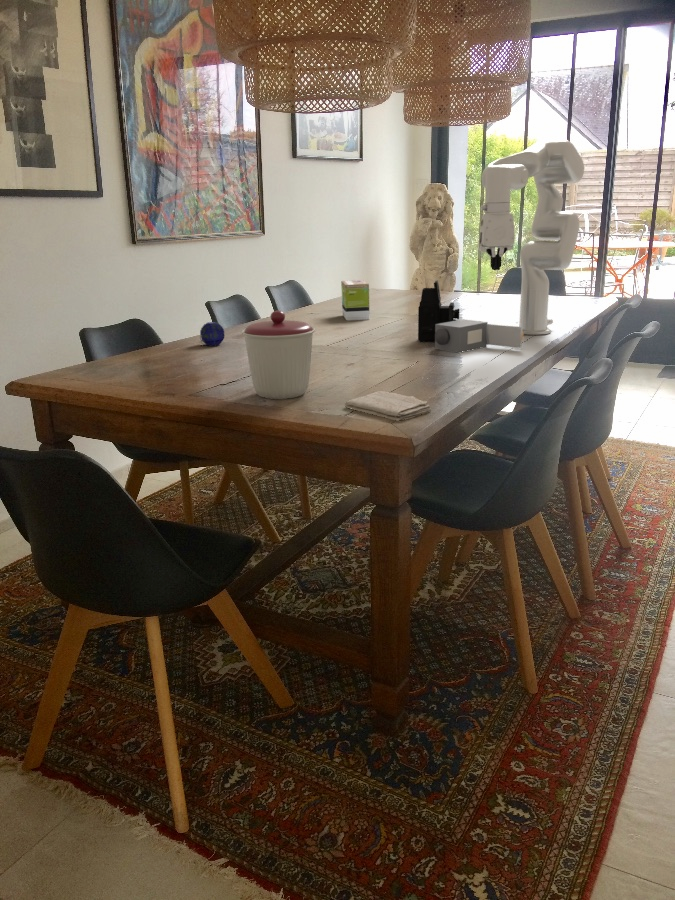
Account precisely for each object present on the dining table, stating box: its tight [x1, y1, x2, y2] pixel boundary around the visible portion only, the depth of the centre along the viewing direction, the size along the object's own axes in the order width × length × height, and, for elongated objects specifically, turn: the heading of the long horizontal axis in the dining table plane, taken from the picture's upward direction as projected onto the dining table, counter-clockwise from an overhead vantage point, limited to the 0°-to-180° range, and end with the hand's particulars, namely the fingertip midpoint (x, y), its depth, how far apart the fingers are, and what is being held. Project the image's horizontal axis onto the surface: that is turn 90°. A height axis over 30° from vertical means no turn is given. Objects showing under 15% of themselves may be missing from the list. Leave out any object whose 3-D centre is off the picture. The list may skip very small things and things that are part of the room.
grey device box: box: [434, 318, 489, 353], centre depth 242 cm, size 15×10×8 cm
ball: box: [199, 321, 225, 347], centre depth 258 cm, size 8×8×8 cm
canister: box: [241, 310, 316, 400], centre depth 186 cm, size 18×18×21 cm
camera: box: [417, 280, 460, 343], centre depth 254 cm, size 10×14×20 cm
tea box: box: [340, 279, 371, 321], centre depth 311 cm, size 15×10×15 cm
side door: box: [486, 323, 524, 349], centre depth 239 cm, size 12×2×6 cm, turn 51°
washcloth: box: [344, 390, 432, 422], centre depth 173 cm, size 12×18×3 cm, turn 45°
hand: (495, 269), depth 236 cm, fingers closed
